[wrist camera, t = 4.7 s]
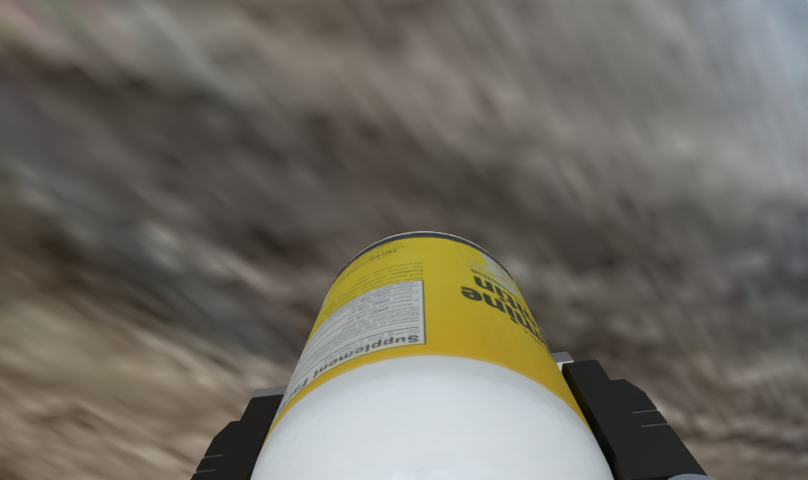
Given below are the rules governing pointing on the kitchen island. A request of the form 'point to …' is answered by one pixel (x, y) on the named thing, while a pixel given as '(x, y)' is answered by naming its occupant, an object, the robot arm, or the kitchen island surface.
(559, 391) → the pill bottle
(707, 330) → the kitchen island surface
